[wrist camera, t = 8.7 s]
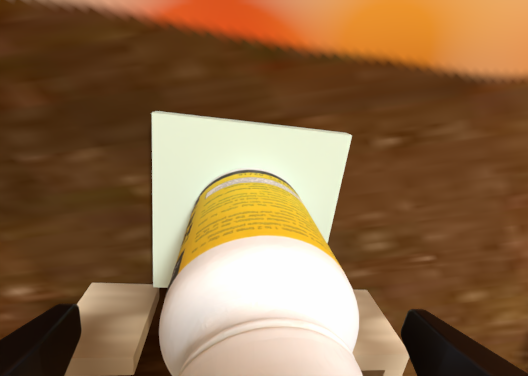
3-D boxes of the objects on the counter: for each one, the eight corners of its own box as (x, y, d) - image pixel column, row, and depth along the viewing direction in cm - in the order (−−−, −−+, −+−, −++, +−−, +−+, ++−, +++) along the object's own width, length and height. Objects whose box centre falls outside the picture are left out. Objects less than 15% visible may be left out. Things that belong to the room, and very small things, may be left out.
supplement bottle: (179, 176, 13) (53, 399, 4) (294, 155, 13) (443, 314, 4) (205, 272, 15) (166, 576, 6) (305, 252, 15) (424, 510, 6)
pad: (345, 132, 14) (352, 135, 13) (312, 282, 17) (316, 291, 16) (156, 110, 12) (151, 112, 12) (156, 277, 15) (153, 287, 15)
